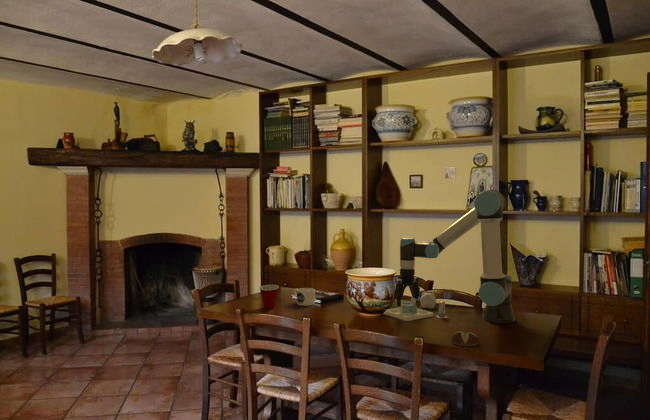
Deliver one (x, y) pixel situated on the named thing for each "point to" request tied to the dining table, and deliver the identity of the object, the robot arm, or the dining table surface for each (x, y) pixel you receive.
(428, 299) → the die
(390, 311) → the tray
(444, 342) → the dining table surface
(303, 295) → the mug
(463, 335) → the bread
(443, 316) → the grey pedestal column
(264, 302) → the plastic cup
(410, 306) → the grey-green rounded block
